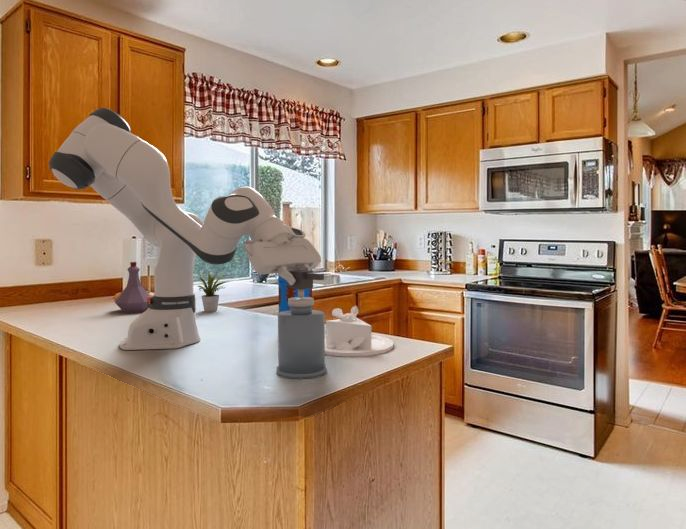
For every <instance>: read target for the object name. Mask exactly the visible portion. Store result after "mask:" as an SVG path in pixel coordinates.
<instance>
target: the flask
mask: <svg viewBox="0 0 686 529" xmlns="http://www.w3.org/2000/svg"><path fill="white" fill-rule="evenodd" d="M137 263H138V262H137V261H130V262H129V265H130V266H129V267H128V268H127V269H126V270H127V271H128V278H127V279H128V280H127V283H126V286H125V288H124V289H123V290H122V291H121V292H120V294H119V295H118V296H117V297H116V298H115V299H114V304H115V305H116V306H117V307H119V309H120V310H121V311H122V312H123V313H129V314H130V313H143V312H145V311H146V310H147V309H149V308H148V305H147V301H146V299H147V297H148V296H152V294H150V293H149V292H148V291H147V290H146V289H145V288H144V287H143V286H142V283H141V280H140V276H139V271H140V269H141V268H139V267H138V266H137Z"/></svg>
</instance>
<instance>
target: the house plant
mask: <svg viewBox="0 0 686 529" xmlns="http://www.w3.org/2000/svg"><path fill="white" fill-rule="evenodd" d="M218 273H219V272H216V274H215V275H214V276H212V274H210V271H208V275H207V278H208V279H207V278H206V276H205V275H203V274H201V276H202V277H201V276H197V280H198V281H199V282H200V283H201V285H196V287H198V291H201V290H202V292H203V293H204V294H203V295H201V301H202V305H203V310H204V311H203V312H207V313H208V312H211V313H214V312H217V311H218V308H219V307H218V306H219V301H220V300H219V299H220V295H219V294H216V293H217V291H219V290H220V289H222V288H224V287H226V286H228V285H223V284H225V283H230V281H222V282H220V281H221V280H222V279H224V274H222V275H220V276H219V277H218V278H217V279H216V276H217V275H218ZM203 277H204V278H203ZM215 279H216V281H215ZM221 285H222V286H221Z"/></svg>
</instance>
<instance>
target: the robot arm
mask: <svg viewBox="0 0 686 529" xmlns="http://www.w3.org/2000/svg"><path fill="white" fill-rule="evenodd" d="M48 166H49V170H50V172H51V173H52V174H53V175H54V177H55V178H56V179H57V180H58V182H60V183H61V184H63V185H65V186H67V187H68V188H69V187H70V188H71V189H73V190H74V189H75V190H84V189H87V188H88V187H91V188H92V189H93V190H94V191H95V192H96V193H97V194H98V195H99V196H101V197H102V198H103V199H104V200H105V201H106V202H107V203H108V204H110V205H111V206H113V207H114V208H115V209H116V210H117V211H119V212H120V214H122V215H123V216H125V217H126V218H127V219H128V220H129V221H130V222H131V223H132V224H133V225H134V227H135V228H136V229H137V230H138V232H140V234H142V236H143V238H144V239H145V241H147V243H149V244H151V245H153V246H154V247H157V248H160V249H159V250H160V251H159V254H158V260H157V263H156V265H155V267H154V269H153V281H154V282H153V283H154V284H153V286H154V295H151V296H148V297H147V299H146V301H147V305H148V309H147V310H146V311H142V312H141V314H140V315H138V316H137V317H136V318H135V319H134V320H132V321H131V323H130V324H129V326H128V329H127V330H128V331H127V335H126V337H124V338H123V339H121V340H120V342H119V349H121V350H124V351H133V350H137V351H139V350H159V349H160V350H161V349H163V350H164V349H180V348H182V347H184V346H188V345H193V344H195V343H198V342H200V341H201V338H200V334H199V329H198V326H197V321H196V310H197V305H196V304H197V303H196V302H197V300H196V299H197V298H196V294H195V293H194V267H195V260H196V257H198V258H199V259H200V260H201V261H203V262H204V263H206V264H210V265H217V266H219V265H223V264H227V263H230V262H231V261H233V259H234V257H235V254H236V251H237V248H238V246H239V243H240V241H241V239H242V237H243V236H248V237H249V238H250V239H248V240H246V241H244V242H243V246H242V247H243V249H244V251H245V252H246V256H247V258H248V261H249V263H250V264H251V266H252V268H253V270H254V272H255V273H257V274H258V275H259V276H260V275H261V276H264V275H271V274H272V275H273V274H277V275H279V276H280V277H282V278H283V279H285V280H287V281H288V283H289V284H290V285H296V284H297V282H298V279H297V277H296V276H295V275H292V274H291V273H290V272H289V271H295V270H308V271H311V270H312V271H313V270H315V269H316V268H317V267H319V265H320V263H321V262H322V257H321V255H320V253H319V251H318V250H317V249H316V247H315V246H314V244H312V242H311V241H310V240H309V239H307V238H305V237H306V234H305V232H304V231H303V230H301V229H298V228H295V227H292V226H289V225H288V224H285V223H283V221H282V220H281V219H280V218H279V217H278V216H276V214H275V211H274V209H273V207H272V206H271V205H270V203H269V202H268V201H267V200H266V198H265V197H264V196H263V195H262V194H261V193H260V192H259V191H257V190H256V189H255V188H253V187H250V186H241V187H238V188H236V189H234V190H233V191H232V192H231V193H230V195H223V196H219V197H216V198H215V199H214V200H212V202H211V204H210V205H209V209H208V210H207V213H206V216H205V218H204V221H202V219H201V218H200V217H199V216H198V215H196V214H194V213H192V212H188V211H186V210H183V209H181V207H179V206H178V205H177V202H175V199H174V196H173V192H172V186H171V170H170V169H171V168H170V167H169V166H170V165H169V163H168V160H167V158H166V156H165V155H164V154H163V153H162V152H161V151H160V150H159V149H158V148H156V147H155V146H154V145H152V144H150V143H148V142H147V141H146V140H144V139H142V138H140V137H139V136H137V135H135V134H133V133H132V132H131V126H130V125H129V123H128V122H127V121H126V120H125V119H124V118H123V117H122V115H120V114H119V113H117V112H116V111H114V110H112V109H110V108H106V107H99V108H97V109H95V110H94V111H92V112H91V113H90V114H89V116H88V117H87V118H85V119H84V120H83V121H82V122H81V123H79V124H78V125H76V127H74V129H73V130H72V131H71V133H70V134H69V135H68V137H67V138H66V139H64V142H63V143H62V144H61V145H60V147H59V148H58V149H57V151H54V153H53V154H52V156H51V157H50V159H49V161H48Z"/></svg>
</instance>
